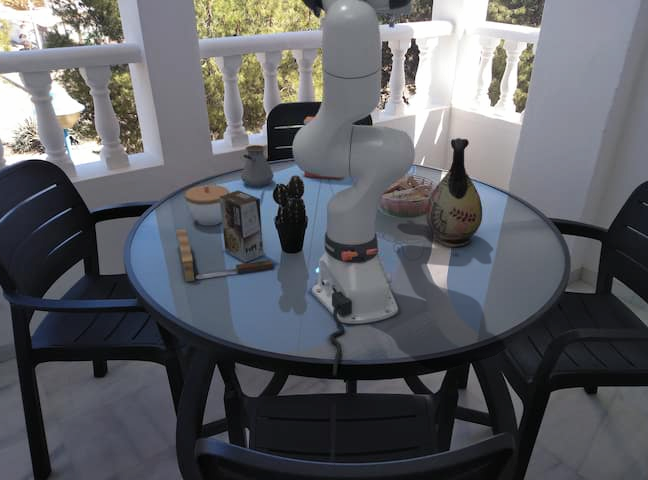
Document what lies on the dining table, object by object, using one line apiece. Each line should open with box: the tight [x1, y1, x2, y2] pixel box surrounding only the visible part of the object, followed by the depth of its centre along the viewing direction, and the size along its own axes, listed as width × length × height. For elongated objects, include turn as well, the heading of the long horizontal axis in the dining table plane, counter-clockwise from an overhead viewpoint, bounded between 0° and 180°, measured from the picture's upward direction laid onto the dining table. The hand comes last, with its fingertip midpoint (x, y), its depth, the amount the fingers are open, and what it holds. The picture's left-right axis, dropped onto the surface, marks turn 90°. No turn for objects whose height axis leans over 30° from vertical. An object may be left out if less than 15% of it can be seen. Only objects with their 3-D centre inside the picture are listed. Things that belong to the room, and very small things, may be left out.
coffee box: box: [219, 190, 264, 263], centre depth 140 cm, size 9×6×16 cm
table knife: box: [195, 259, 274, 281], centre depth 134 cm, size 2×19×2 cm, turn 109°
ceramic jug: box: [425, 137, 483, 248], centre depth 145 cm, size 17×15×30 cm
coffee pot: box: [240, 144, 275, 188], centre depth 182 cm, size 21×12×15 cm, turn 175°
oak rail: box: [176, 228, 196, 282], centre depth 137 cm, size 18×2×6 cm, turn 19°
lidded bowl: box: [184, 184, 230, 227], centre depth 159 cm, size 13×13×11 cm
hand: (375, 25), depth 151 cm, fingers open, 8 cm apart
